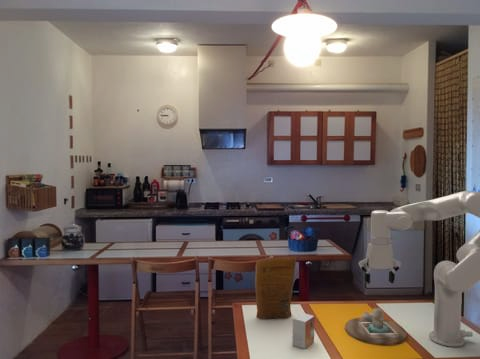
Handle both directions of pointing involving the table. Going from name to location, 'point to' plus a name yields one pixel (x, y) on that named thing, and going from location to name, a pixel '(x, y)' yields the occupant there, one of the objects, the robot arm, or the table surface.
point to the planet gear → (377, 322)
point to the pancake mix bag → (274, 287)
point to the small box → (303, 330)
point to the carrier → (360, 332)
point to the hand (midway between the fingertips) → (379, 282)
